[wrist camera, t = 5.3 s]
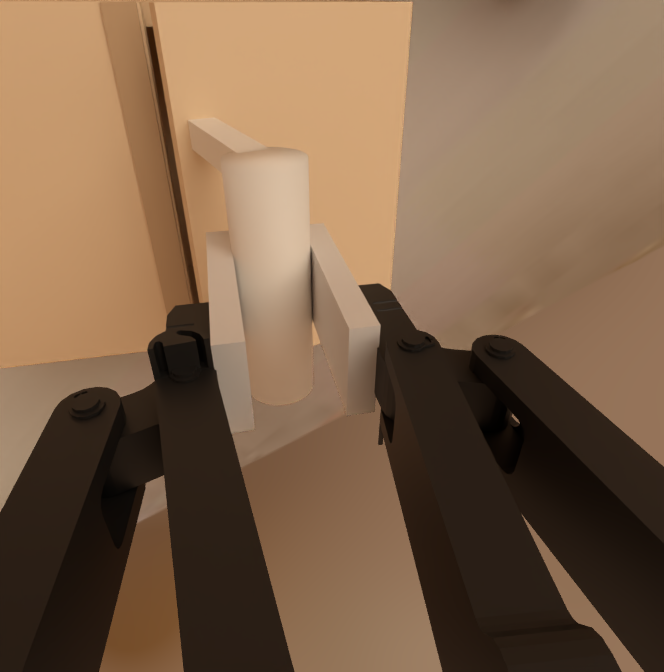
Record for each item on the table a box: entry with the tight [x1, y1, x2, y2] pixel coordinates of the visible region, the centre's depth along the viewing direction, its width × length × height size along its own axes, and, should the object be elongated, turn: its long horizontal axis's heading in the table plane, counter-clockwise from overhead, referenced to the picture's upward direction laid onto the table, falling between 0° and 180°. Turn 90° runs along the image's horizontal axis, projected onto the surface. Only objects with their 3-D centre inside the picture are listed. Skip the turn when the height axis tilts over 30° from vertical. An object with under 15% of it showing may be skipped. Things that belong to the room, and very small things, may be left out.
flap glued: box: [0, 1, 194, 368], centre depth 21 cm, size 15×10×1 cm, turn 0°
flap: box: [149, 2, 413, 405], centre depth 20 cm, size 15×10×8 cm
